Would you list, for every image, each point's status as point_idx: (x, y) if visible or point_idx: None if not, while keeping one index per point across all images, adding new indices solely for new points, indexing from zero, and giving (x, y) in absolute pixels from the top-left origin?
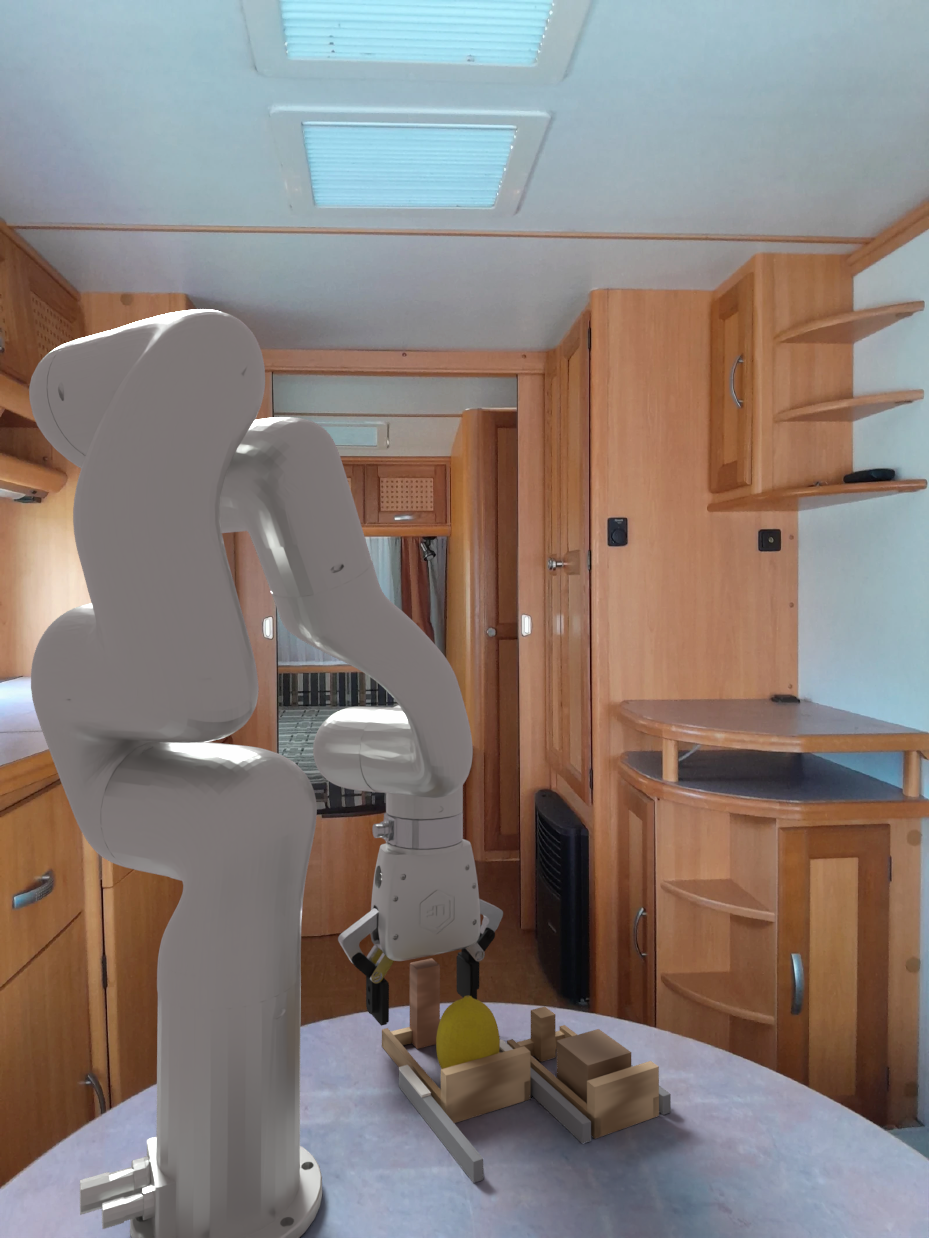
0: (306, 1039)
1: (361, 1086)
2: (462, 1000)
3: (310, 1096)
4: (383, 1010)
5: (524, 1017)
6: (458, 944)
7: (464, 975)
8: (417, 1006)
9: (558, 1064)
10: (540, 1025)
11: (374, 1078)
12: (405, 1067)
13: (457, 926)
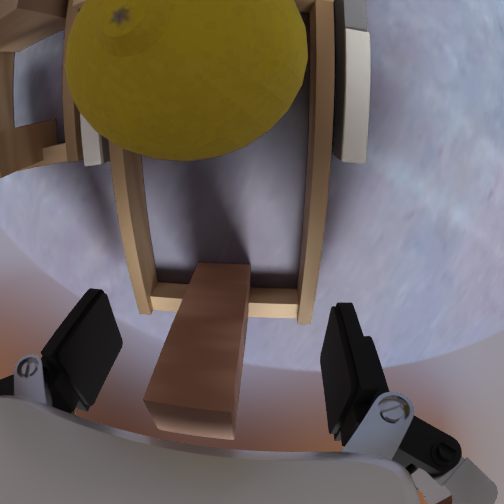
0: (390, 359)
1: (408, 199)
2: (162, 12)
3: (474, 219)
4: (357, 325)
5: (44, 264)
6: (43, 424)
7: (89, 352)
8: (242, 323)
9: (48, 9)
10: (8, 131)
11: (376, 211)
12: (352, 154)
13: (19, 489)
